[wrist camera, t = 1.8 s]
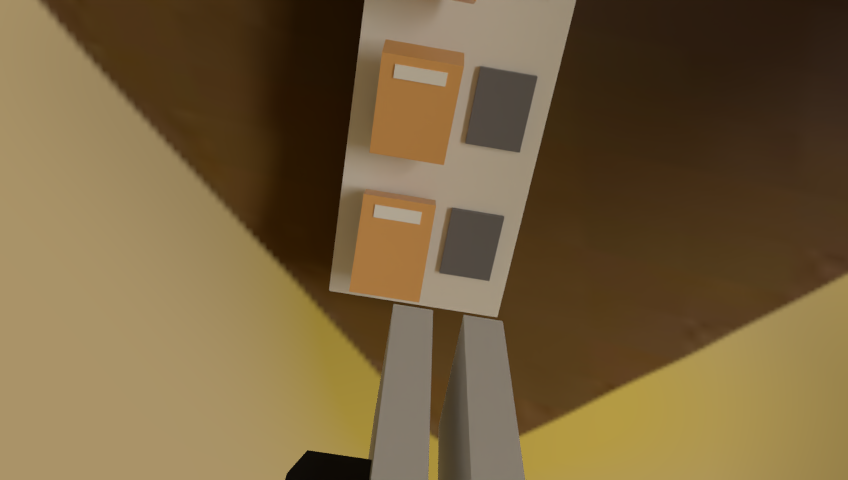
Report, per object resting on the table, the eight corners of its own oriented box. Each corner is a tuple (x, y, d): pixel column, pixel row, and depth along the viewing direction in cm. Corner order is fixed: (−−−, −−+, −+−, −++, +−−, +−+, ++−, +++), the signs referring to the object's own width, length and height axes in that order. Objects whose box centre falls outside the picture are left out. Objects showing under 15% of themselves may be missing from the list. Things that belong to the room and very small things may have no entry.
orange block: (385, 39, 29) (381, 52, 28) (464, 52, 30) (463, 67, 28) (373, 137, 32) (369, 153, 31) (444, 149, 33) (443, 166, 31)
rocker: (365, 188, 33) (363, 194, 32) (435, 200, 34) (436, 205, 32) (351, 282, 35) (349, 291, 33) (419, 293, 35) (419, 303, 33)
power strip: (419, -369, 28) (414, -417, 24) (637, -324, 28) (670, -364, 24) (339, 256, 40) (327, 296, 36) (492, 280, 40) (497, 323, 36)
